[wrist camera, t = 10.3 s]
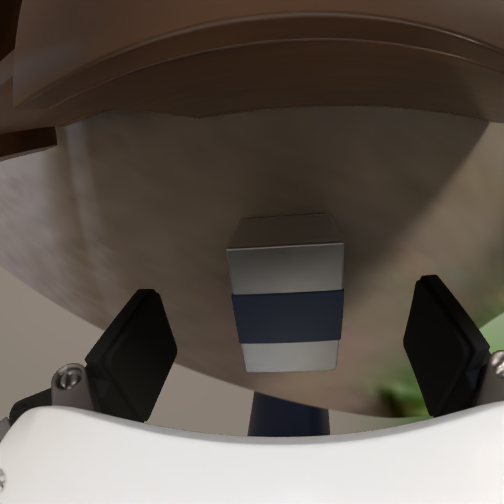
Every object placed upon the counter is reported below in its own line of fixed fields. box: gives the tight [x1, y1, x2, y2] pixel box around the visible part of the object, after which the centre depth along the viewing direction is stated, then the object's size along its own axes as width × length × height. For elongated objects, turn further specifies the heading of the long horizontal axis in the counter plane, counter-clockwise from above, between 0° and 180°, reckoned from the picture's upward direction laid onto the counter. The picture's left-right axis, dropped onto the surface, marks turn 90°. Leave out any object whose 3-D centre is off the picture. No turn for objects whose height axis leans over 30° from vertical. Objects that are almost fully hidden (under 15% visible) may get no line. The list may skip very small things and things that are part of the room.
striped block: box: [226, 214, 344, 372], centre depth 12 cm, size 6×4×4 cm
